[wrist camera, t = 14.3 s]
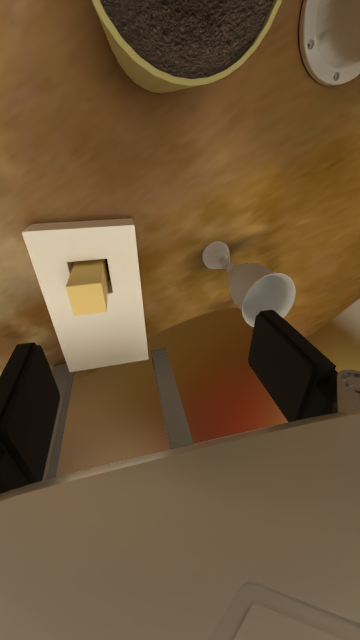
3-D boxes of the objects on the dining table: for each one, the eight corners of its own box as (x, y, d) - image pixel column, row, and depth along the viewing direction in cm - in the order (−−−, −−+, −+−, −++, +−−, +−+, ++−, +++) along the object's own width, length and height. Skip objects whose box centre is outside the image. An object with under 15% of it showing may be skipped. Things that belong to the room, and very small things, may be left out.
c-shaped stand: (37, 322, 43) (-79, 573, 17) (163, 306, 47) (228, 489, 21) (58, 376, 50) (-1, 614, 24) (166, 359, 54) (218, 545, 28)
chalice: (232, 272, 47) (289, 323, 32) (197, 277, 46) (239, 332, 31) (235, 232, 43) (301, 269, 28) (197, 236, 42) (244, 277, 27)
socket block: (32, 223, 35) (21, 231, 31) (131, 218, 38) (134, 224, 34) (73, 354, 48) (69, 372, 44) (145, 343, 51) (148, 359, 47)
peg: (77, 255, 39) (65, 286, 29) (103, 253, 40) (101, 282, 30) (83, 279, 41) (74, 316, 31) (108, 276, 42) (107, 311, 32)
